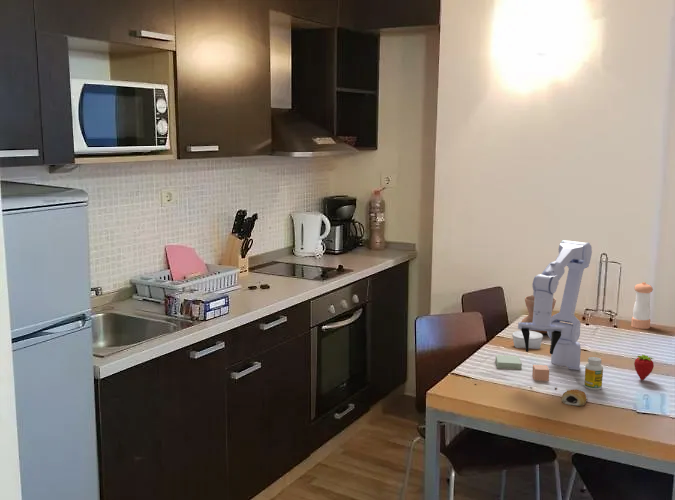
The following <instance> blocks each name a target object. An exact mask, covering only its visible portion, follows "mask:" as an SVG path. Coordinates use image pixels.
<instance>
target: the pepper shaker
mask: <svg viewBox="0 0 675 500" xmlns="http://www.w3.org/2000/svg"><path fill="white" fill-rule="evenodd" d="M634 290H635V301H634V305H633V308H632V317H631V324H630V326H631V327H632V328H636V329H639V330H647V329H650V328H651V317H650V316H651V303H650V302H651V301H650V300H651V293H652V292H653V290H654V289H653V287H652V285H650V284H648V283H647V282H645V281H642V282H641V283H637V284H635V286H634Z"/></svg>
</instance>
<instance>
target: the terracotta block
mask: <svg viewBox="0 0 675 500" xmlns="http://www.w3.org/2000/svg"><path fill="white" fill-rule="evenodd" d="M531 374H532V375H531V376H532V377H533V380H534V381H546V382H549V381H550V369H549V367H548V365H545V364H533V365H532V373H531Z"/></svg>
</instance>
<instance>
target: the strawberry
mask: <svg viewBox="0 0 675 500" xmlns="http://www.w3.org/2000/svg"><path fill="white" fill-rule="evenodd" d="M653 360H655V358H653V357H650V356H649V355H645V354H642V355H636V358H635V360H634V363H633V365H634V370H635V372H636V374H637V376H638V378H639V379H640V380H641V381H645V379H646V378H648V377H649V375H650V374H651V373H652V372H653V370H654V366H655V365H654V361H653Z"/></svg>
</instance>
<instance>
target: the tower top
mask: <svg viewBox="0 0 675 500" xmlns="http://www.w3.org/2000/svg"><path fill="white" fill-rule="evenodd" d="M495 363H496V368H497V369H511V370H512V369H513V370H522V366H523V364H522V360H521V358H520V356H519V355H504V354H501V355H500V354H495Z"/></svg>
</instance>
